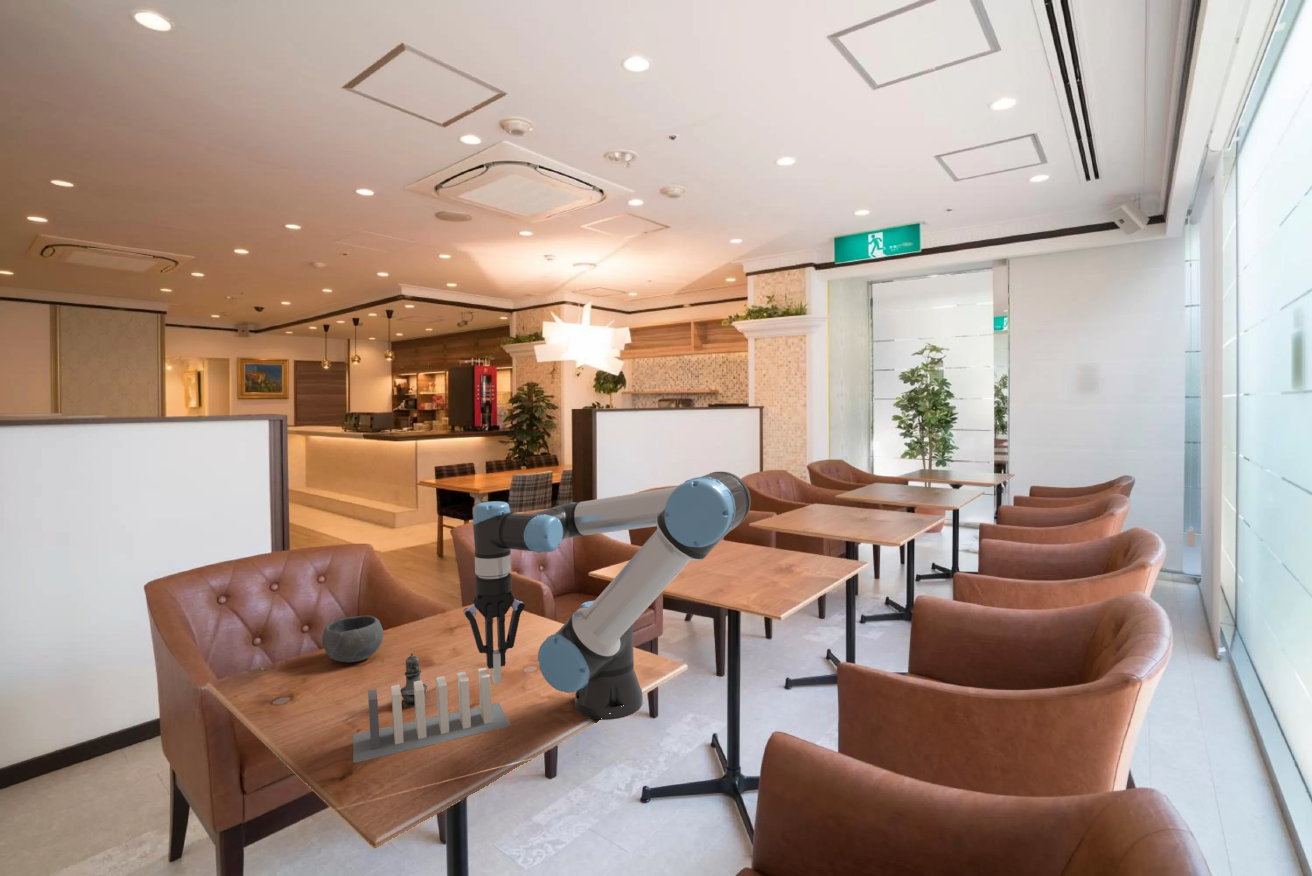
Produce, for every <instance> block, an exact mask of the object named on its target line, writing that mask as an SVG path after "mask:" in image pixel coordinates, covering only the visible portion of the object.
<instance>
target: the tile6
mask: <svg viewBox="0 0 1312 876" xmlns="http://www.w3.org/2000/svg"><path fill="white" fill-rule="evenodd" d="M367 699H368V717H369V731H370V739H371V750H374V749H378V748H380V739H379V729H380V724H379V705H378V704H379V703H378V692H377V688H374V689H369V690H367Z"/></svg>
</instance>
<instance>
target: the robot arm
mask: <svg viewBox="0 0 1312 876" xmlns="http://www.w3.org/2000/svg"><path fill="white" fill-rule="evenodd" d="M750 493H751V492H750V490H749V488H748V486H747V485H746V483H745V482H744V481H743V480H742V479H741V478H740V477H738V476H737V475H736V474H735V473H734V474H733V473H731V472H728V471H714V472H710V473H708V474H705V475H702V476H697V477H694V478H693V477H692V478H690V479H687V480H685V481H684V482H683V483H680V484H679V485H678V486H673V487H666V488H661V489H654V490H647V491H641V492H636V493H628V494H622V495H617V496H616V495H615V496H611V497H604V498H597V499H591V500H584V501H579V502H575V501H574V502H565V503H561V504H559V505H556V506H553V507H550V508H547V509H544V510H543V509H542V510H540V511H537V512H532V513H514V512H511V510H510V505H509V503H508V502H506V501H499V500H498V501H494V500H493V501H485V502H480V503H478V504H476V505H475V506H474V507H473V521H472V522H473V523H472V526H473V527H472V529H473V542H474V574H475V575H476V576H475V578H474V579H475V598H474V600H473V604H472V605H470V606H469V607H465V608H464V609H463V614H464V616H465V617H466V619H467V620H468V622H469V624H470V629H471V632H472V635H473V638H474V640H475V645H476V648H477V650H478V652H479V653H480V654H486V655H485V657H486V666H487V668H488V669H489V670H491V679H492V683H493V684H494V685H500V684H502V667H505V666H506V664H507V663H506V662H507V661H506V653H507V650H509V649H512V648H514V647H515V646H514V645H515V642H516V641H515V640H516V636H517V632H518V629H519V628H518V627H519V622H520V617H521V614H522V612H523V611H524V609H525V606H526V605H525V603H524V602H523V601H522V600H517V599H516V598H515V596H514V595H513V591H512V590H513V589H512V587H513V586H512V574H511V571H512V558H511V557H512V555H511V550H517V551H527V552H534V553H552V552H554V551H556V550H557V549H558V547H559V546H560V545H561V543H562V540H563V541H564V540H567V539H571V538H579V537H584V536H589V535H591V536H592V535H597V534H607V533H612V532H613V533H614V532H620V531H629V530H637V529H645V528H652V527H656V529H655V531H654V532H653V533H652V535H650V537H649V538H647V540H646V541H645V543H644V544H643V545H642V546H641V547H640V548H639V549H638V551H637V552H636V553H635V554H634V555H633V556H632V558H631V559H629V561H628V562H627V563H626V565H625V566H624V567H623V568H622V569H621V570H620V571H619V573H618V574H617V575H616V576H615V577H614V578H613V579H612V581H610V583H609V584H608V585H607V586H606V587H605V588H604V590H603V591H602V592H601V593H600V594H599V596H597V597H596V598H595V600H590V601H585V602H582V603H581V604H580V606H579V608H578V609H576V610H575V611H574V613H573V614H572V615H571V616H569V618H568V620H566V621H565V623H564V624H563V625H562V626H561V628H559V629H558V631H556V632H555V633H554V634H551V635H549V636H548V637H546V639H545V640H544V641H543V642H542V643H541V645H540V647H539V649H538V652H537V661H538V668H539V670H540V673H541V675H542V677H543V678H544V680H545V681H546V682H547V684H548V685H550V687H552V688H553V689H555V690H556V691H559V692H561V693H562V692H564V693H566V694H571V693H575V694H574V708H575V710H576V711H577V712H578V713H579V714H580V715H582V716H584V717H587V718H590V719H592V720H598V719H600V720H601V721H611V720H618V719H621V718H625V717H628V716H631V715H633V714H635V713H637V712H638V711H639V710H640V709H641V708H642V706H643V702H644V700H643V690H642V688H641V685H640V683H639V679H638V676H637V673H636V671H635V665H634V663H635V662H634V659H635V658H634V657H635V656H634V623H635V622H636V621H637V620H638V619H639V618H640V617H641V616H642V614H643V613H644V612H645V611H646V610H648V608H649V607H650V606H651V605H652V604H653V603H654V601H656V599H657V598H658V597H659V596H660V595H661V594H662V593H663V592H664V591H665V590H666V588H667V587H668V586H669V585H670V584H671V583H672V582H673V581H674V580H675V578H676V577H677V576H678V575H679V574H680V573H681V572H682V571H683V569H685V568H686V567H687V565H688V564H689V563H690V562H691V561H697V562H698V561H703V560H704V559H705V558H706V557H707V556H708V555H709V554H710V552H712V551H713V549H714V548H715V547H716V546H717V545H718V544H719V543H720V541H722V539H724V538H725V536H726V535H728V533H730V532H731V531H732V530H734V529H735V528H737V527H739V526H740V525H741V524H742V523H743V522H744V521H745V520H746V518H747V517H748V515H749V513H750V509H751V505H752V504H751V503H752V501H751V498H752V497H751V494H750ZM510 608H512V611H511V616H510V622H509V625H508V631H507V636H506V624H505V623H506V614H507V613H508V611H510ZM477 610H478V612H479V614H481V615H482V616H483V618H484V632H485V633H484V634H485V635H484V637H485V640H484V641H485V644H484V643H483V639H482V636H481V632H480V629H479V625H478V622H477V620H476V618H475V617H476V616H477ZM495 618H496V631H497V648H498V649H494V627H493V626H494V625H493V624H494V619H495ZM623 705H624V706H623ZM621 706H622V707H621ZM609 713H611V714H609ZM601 718H602V719H601Z"/></svg>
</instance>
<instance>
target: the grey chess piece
mask: <svg viewBox="0 0 1312 876" xmlns="http://www.w3.org/2000/svg"><path fill="white" fill-rule="evenodd" d="M409 655H410V656H409V657H407V658H406V659H405V672H404V676H405V680H406V681H405V682H406V683H405V686H403V687H402V688H400V690H401V698H402V700H403V701H405V702H403V706H404V707H406V708H415V697H414V682H415V681H420V680H421V673H422V670H421V669H420V661H419V660H420V659H419V658H418V656H415V655H414V653H413V652H411V653H410V654H409ZM423 686H424V694H425V695H426V692H427V689H428V685H427V684H425V683H423Z"/></svg>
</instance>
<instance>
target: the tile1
mask: <svg viewBox="0 0 1312 876" xmlns="http://www.w3.org/2000/svg"><path fill="white" fill-rule="evenodd" d="M477 671H478V695H479V696H478V697H479V707H480V715H481V717H482V719H483V722H484V724H487V723H491V722H492V707H491V704H492V690H491V689H492V687H491V685H492V684H491V675H490V673H489V671H488V670H487V667H484V668H478V669H477Z"/></svg>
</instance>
